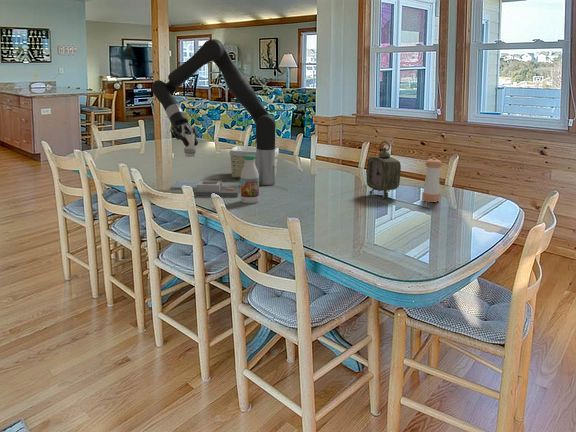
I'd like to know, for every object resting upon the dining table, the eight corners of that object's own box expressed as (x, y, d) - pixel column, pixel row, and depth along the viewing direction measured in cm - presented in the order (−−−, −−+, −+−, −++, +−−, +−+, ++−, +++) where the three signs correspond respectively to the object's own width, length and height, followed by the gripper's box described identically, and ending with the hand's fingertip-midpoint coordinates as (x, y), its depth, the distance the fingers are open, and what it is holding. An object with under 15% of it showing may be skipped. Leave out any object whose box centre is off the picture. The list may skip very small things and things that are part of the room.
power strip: (239, 191, 253) (239, 180, 251) (237, 197, 241) (237, 186, 240) (196, 190, 253) (196, 179, 251) (192, 196, 241) (191, 185, 240)
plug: (196, 155, 257) (196, 130, 254) (194, 157, 252) (194, 132, 249) (185, 154, 257) (184, 130, 254) (183, 156, 252) (182, 131, 249)
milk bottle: (237, 201, 234) (236, 154, 229) (252, 198, 238) (252, 153, 233) (247, 204, 228) (247, 157, 223) (262, 202, 233) (262, 155, 227)
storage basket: (279, 174, 294) (279, 147, 290) (274, 180, 279) (275, 151, 275) (235, 172, 297) (235, 145, 293) (228, 178, 282) (228, 149, 278)
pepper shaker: (436, 199, 245) (440, 156, 240) (441, 202, 238) (445, 159, 233) (420, 198, 244) (423, 156, 239) (424, 202, 237) (428, 158, 232)
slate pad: (205, 183, 267) (205, 181, 267) (201, 190, 254) (201, 187, 253) (177, 183, 267) (177, 181, 267) (171, 189, 254) (171, 187, 253)
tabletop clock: (365, 193, 252) (368, 139, 246) (382, 192, 256) (385, 138, 249) (382, 200, 240) (386, 143, 233) (400, 199, 243) (404, 142, 237)
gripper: (166, 111, 249) (182, 141, 244) (192, 110, 259) (208, 138, 254) (160, 122, 254) (176, 151, 249) (186, 120, 264) (201, 148, 259)
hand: (192, 144), depth 252 cm, fingers closed on plug, 4 cm apart
